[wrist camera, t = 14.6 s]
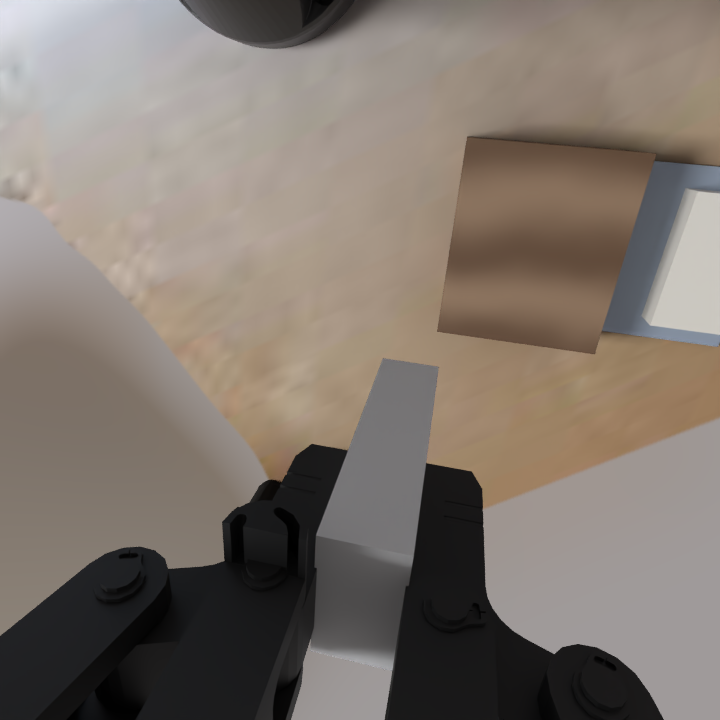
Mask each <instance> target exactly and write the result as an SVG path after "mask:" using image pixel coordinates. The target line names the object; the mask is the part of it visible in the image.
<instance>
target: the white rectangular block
mask: <svg viewBox="0 0 720 720" xmlns="http://www.w3.org/2000/svg"><path fill="white" fill-rule="evenodd" d="M641 316H642V317H643V318H644V319H645V320H646V322H647V323H648V324H649V325H650V326H658V327H665V328H673V329H680V330H687V331H695V332H702V333H709V334H717V335H720V191H711V190H701V189H691V188H685V191H684V194H683V197H682V200H681V203H680V205H679V208H678V211H677V214H676V217H675V220H674V223H673V226H672V229H671V231H670V234H669V237H668V240H667V243H666V246H665V249H664V252H663V255H662V258H661V260H660V263H659V266H658V269H657V272H656V275H655V278H654V281H653V284H652V286H651V289H650V292H649V295H648V298H647V301H646V304H645V307H644V310H643V313H642V315H641Z"/></svg>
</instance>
